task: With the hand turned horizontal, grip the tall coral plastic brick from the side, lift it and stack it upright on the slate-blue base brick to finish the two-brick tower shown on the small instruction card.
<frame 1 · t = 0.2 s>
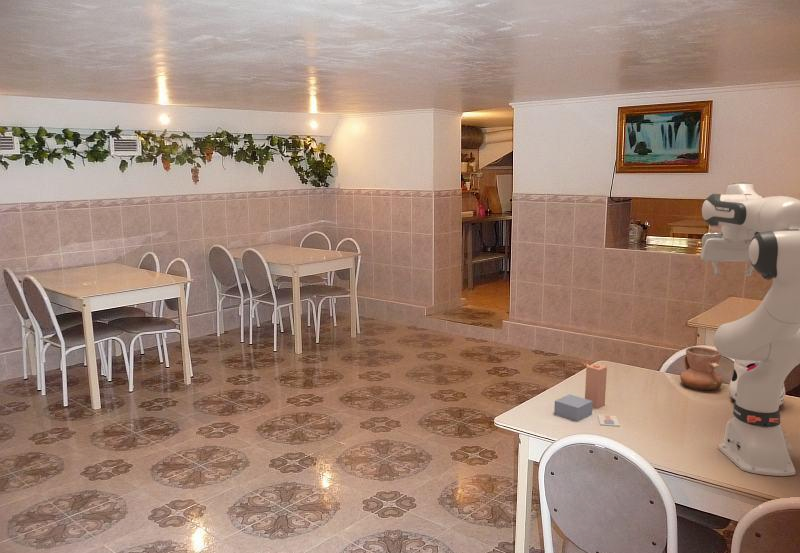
hand: (732, 275, 215), 47 cm above the table, tool pointing down, fingers open, 8 cm apart
ceramic jug: (699, 386, 249), on the table
milk container: (755, 403, 231), on the table
coral brick: (594, 404, 230), on the table
instruction card: (608, 420, 216), on the table
pepper mill: (752, 419, 217), on the table
base brick: (573, 414, 222), on the table
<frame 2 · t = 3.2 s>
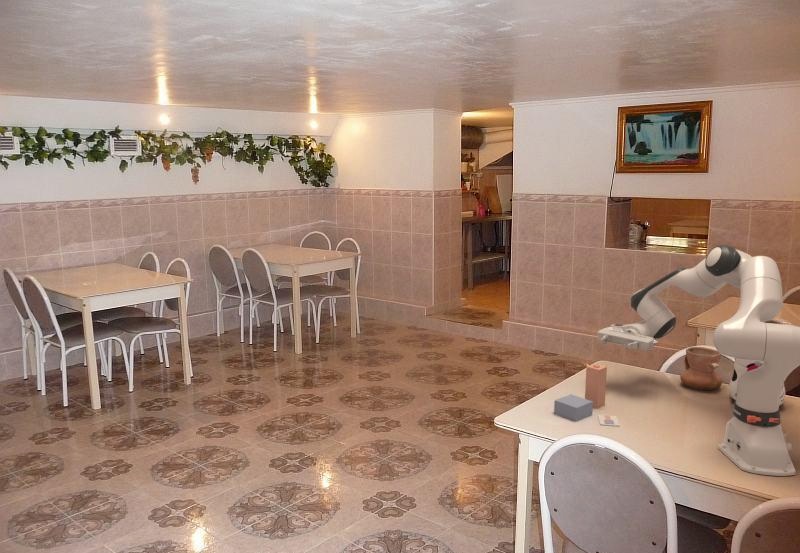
hand: (614, 343, 235), 20 cm above the table, tool horizontal, fingers open, 8 cm apart
nothing on the table moved.
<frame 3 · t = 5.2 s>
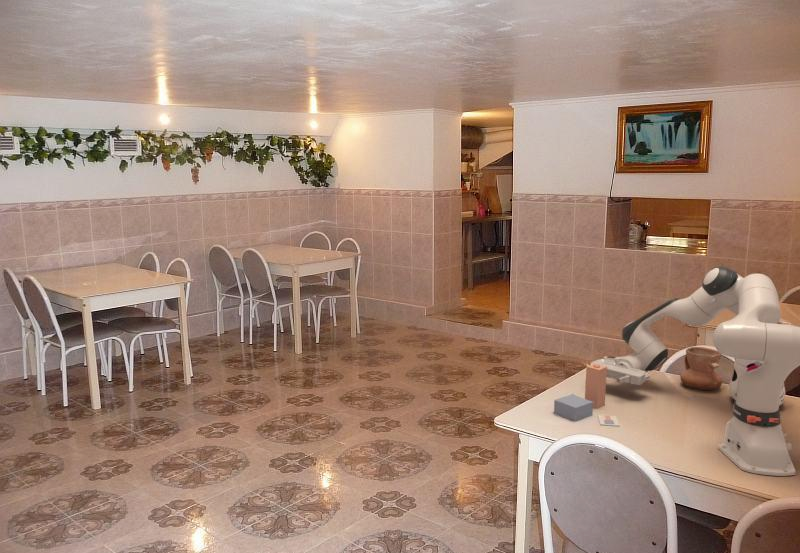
hand: (606, 377, 234), 8 cm above the table, tool horizontal, fingers open, 8 cm apart
nothing on the table moved.
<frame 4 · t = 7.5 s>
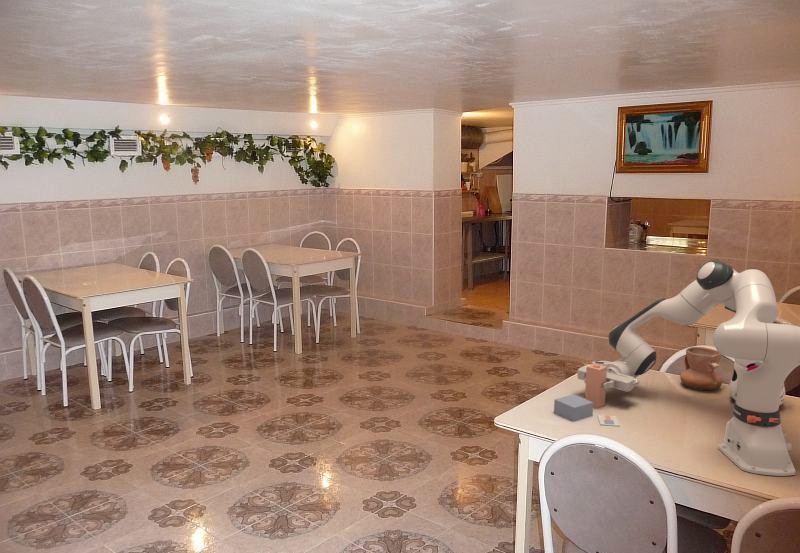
hand: (594, 383, 228), 8 cm above the table, tool horizontal, fingers closed on coral brick, 5 cm apart
coral brick: (594, 404, 230), on the table, touching gripper
everything else where it was.
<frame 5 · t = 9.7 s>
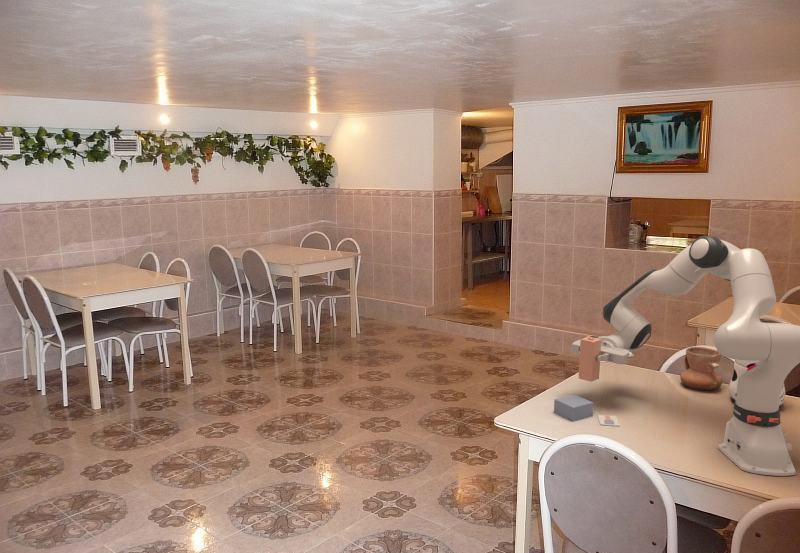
hand: (588, 356, 224), 18 cm above the table, tool horizontal, fingers closed on coral brick, 5 cm apart
coral brick: (588, 378, 226), point 10 cm above the table, touching gripper
everything else where it was.
when the fingers open (14 cm above the table, at t = 12.4 s): coral brick drops 2 cm, point 5 cm above the table.
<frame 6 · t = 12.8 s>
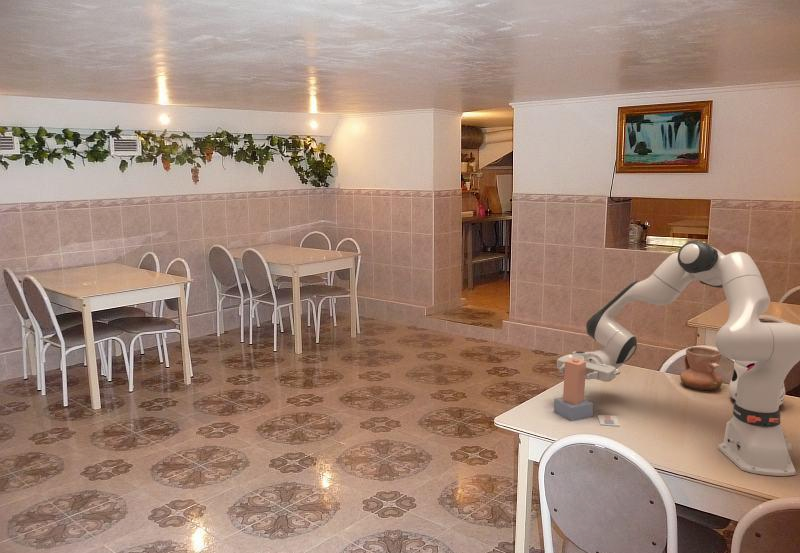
hand: (573, 373, 219), 14 cm above the table, tool horizontal, fingers open, 8 cm apart
coral brick: (573, 400, 221), point 5 cm above the table
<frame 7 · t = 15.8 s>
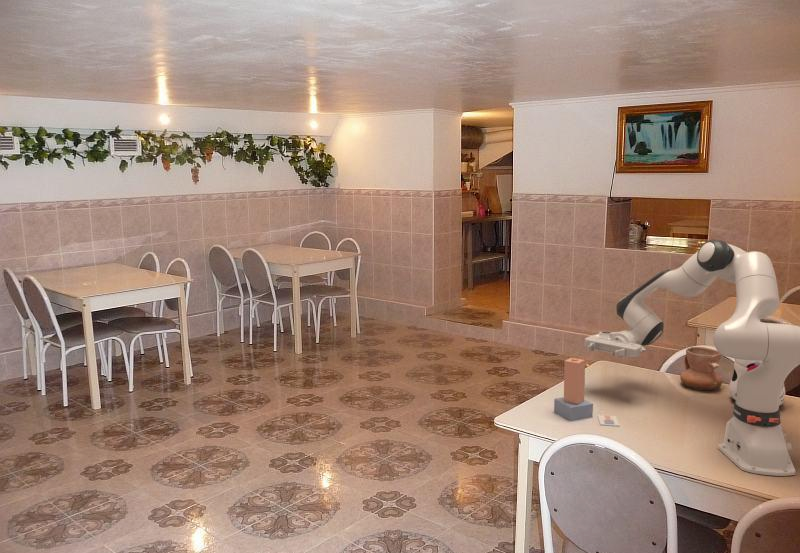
hand: (601, 351, 229), 19 cm above the table, tool horizontal, fingers open, 8 cm apart
coral brick: (574, 400, 221), point 5 cm above the table, touching base brick
base brick: (572, 415, 222), on the table, touching coral brick
everything else where it was.
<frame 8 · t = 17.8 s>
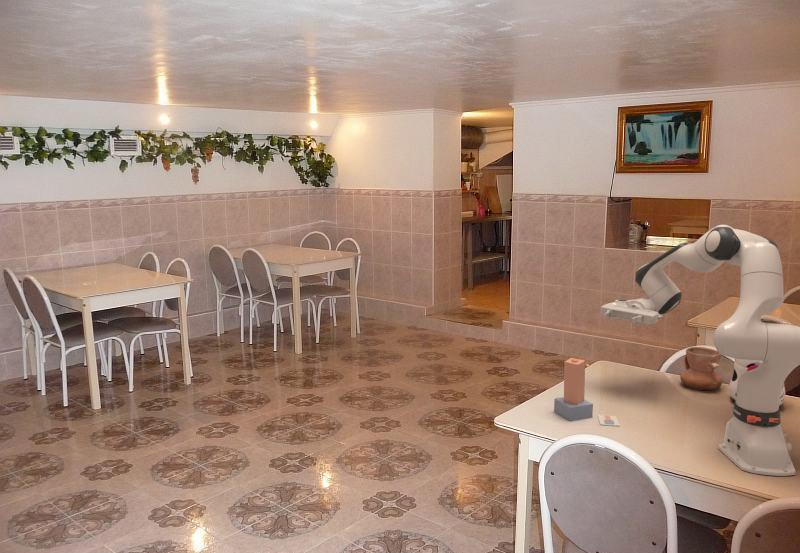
hand: (618, 317, 230), 30 cm above the table, tool horizontal, fingers open, 8 cm apart
coral brick: (574, 400, 221), point 5 cm above the table
base brick: (572, 415, 222), on the table
everything else where it was.
at the end: coral brick 0.4 cm off-centre on the base brick, point 5.1 cm above the base brick's base; coral brick tilted 3°; the gripper is holding nothing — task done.
